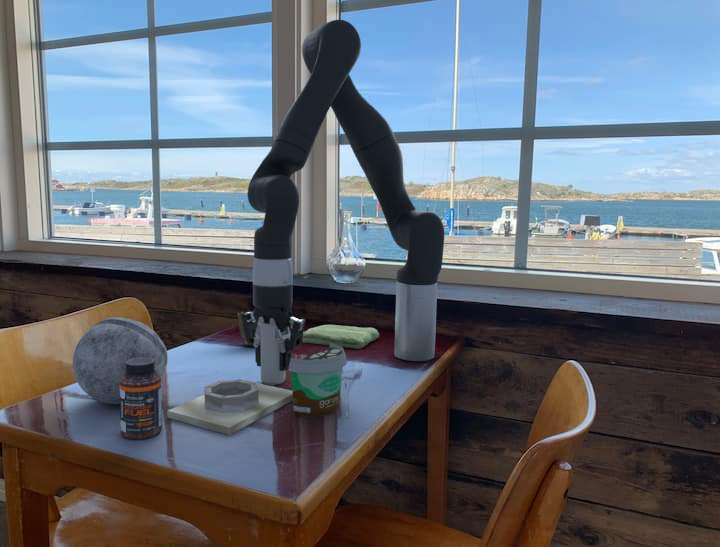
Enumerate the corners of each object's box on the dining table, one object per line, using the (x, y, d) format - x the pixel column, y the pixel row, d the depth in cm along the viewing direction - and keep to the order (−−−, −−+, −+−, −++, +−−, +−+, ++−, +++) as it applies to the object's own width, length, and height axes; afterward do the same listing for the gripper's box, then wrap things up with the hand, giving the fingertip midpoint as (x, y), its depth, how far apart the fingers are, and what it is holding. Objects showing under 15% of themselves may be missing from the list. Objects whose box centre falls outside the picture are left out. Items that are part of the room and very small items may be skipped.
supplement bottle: (120, 443, 81) (117, 368, 79) (120, 427, 86) (117, 357, 85) (164, 437, 83) (162, 364, 82) (161, 422, 89) (159, 353, 87)
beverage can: (280, 386, 106) (280, 325, 104) (256, 384, 107) (256, 323, 105) (288, 378, 111) (289, 319, 109) (265, 376, 112) (265, 318, 110)
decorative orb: (182, 391, 102) (180, 311, 100) (135, 422, 88) (132, 330, 86) (110, 384, 105) (107, 306, 103) (54, 413, 91) (49, 324, 89)
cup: (275, 344, 136) (275, 312, 135) (254, 350, 130) (254, 317, 128) (252, 339, 140) (252, 308, 139) (231, 345, 133) (230, 313, 132)
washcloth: (319, 331, 150) (320, 320, 150) (380, 339, 144) (381, 327, 143) (295, 343, 139) (296, 330, 138) (361, 352, 132) (361, 339, 131)
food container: (318, 426, 88) (319, 365, 87) (288, 417, 92) (288, 358, 90) (359, 402, 99) (360, 348, 97) (331, 395, 102) (331, 342, 100)
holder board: (240, 385, 106) (240, 366, 106) (296, 398, 100) (296, 378, 100) (167, 417, 90) (167, 395, 90) (229, 435, 84) (229, 411, 84)
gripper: (315, 282, 106) (314, 368, 108) (255, 275, 113) (255, 357, 115) (292, 287, 99) (292, 379, 102) (230, 280, 106) (231, 366, 108)
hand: (272, 367), depth 108 cm, fingers closed on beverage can, 5 cm apart
